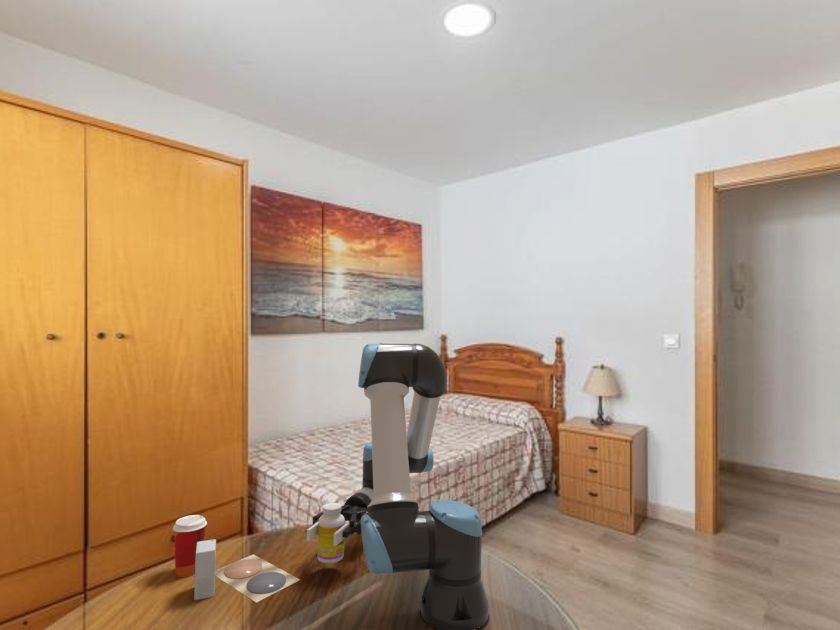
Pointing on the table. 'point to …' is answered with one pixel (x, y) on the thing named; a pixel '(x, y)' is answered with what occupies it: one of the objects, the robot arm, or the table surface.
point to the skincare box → (205, 569)
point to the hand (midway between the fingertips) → (321, 537)
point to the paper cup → (187, 543)
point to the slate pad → (266, 582)
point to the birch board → (242, 583)
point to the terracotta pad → (243, 569)
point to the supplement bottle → (330, 534)
